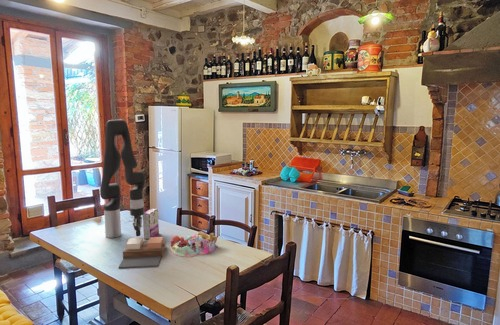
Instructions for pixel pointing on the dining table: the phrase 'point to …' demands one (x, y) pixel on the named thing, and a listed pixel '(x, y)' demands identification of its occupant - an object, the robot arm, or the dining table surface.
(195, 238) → the candy landscape model
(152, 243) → the terracotta tile
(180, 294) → the dining table surface
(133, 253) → the walnut board
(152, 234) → the candy bar box
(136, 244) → the cream tile
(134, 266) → the rubber mat
